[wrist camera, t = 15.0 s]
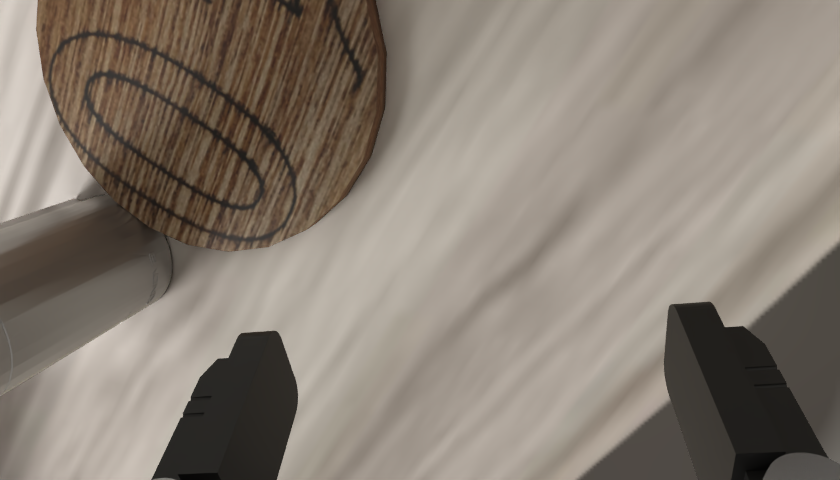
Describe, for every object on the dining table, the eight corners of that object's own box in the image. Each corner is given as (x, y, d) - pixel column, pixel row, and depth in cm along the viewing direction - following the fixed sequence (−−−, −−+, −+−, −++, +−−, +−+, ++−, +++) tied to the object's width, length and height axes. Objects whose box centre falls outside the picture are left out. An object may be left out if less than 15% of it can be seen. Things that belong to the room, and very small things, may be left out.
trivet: (98, -220, 39) (74, -231, 38) (456, -37, 37) (448, -39, 35) (32, 140, 50) (11, 145, 48) (308, 303, 47) (295, 314, 46)
